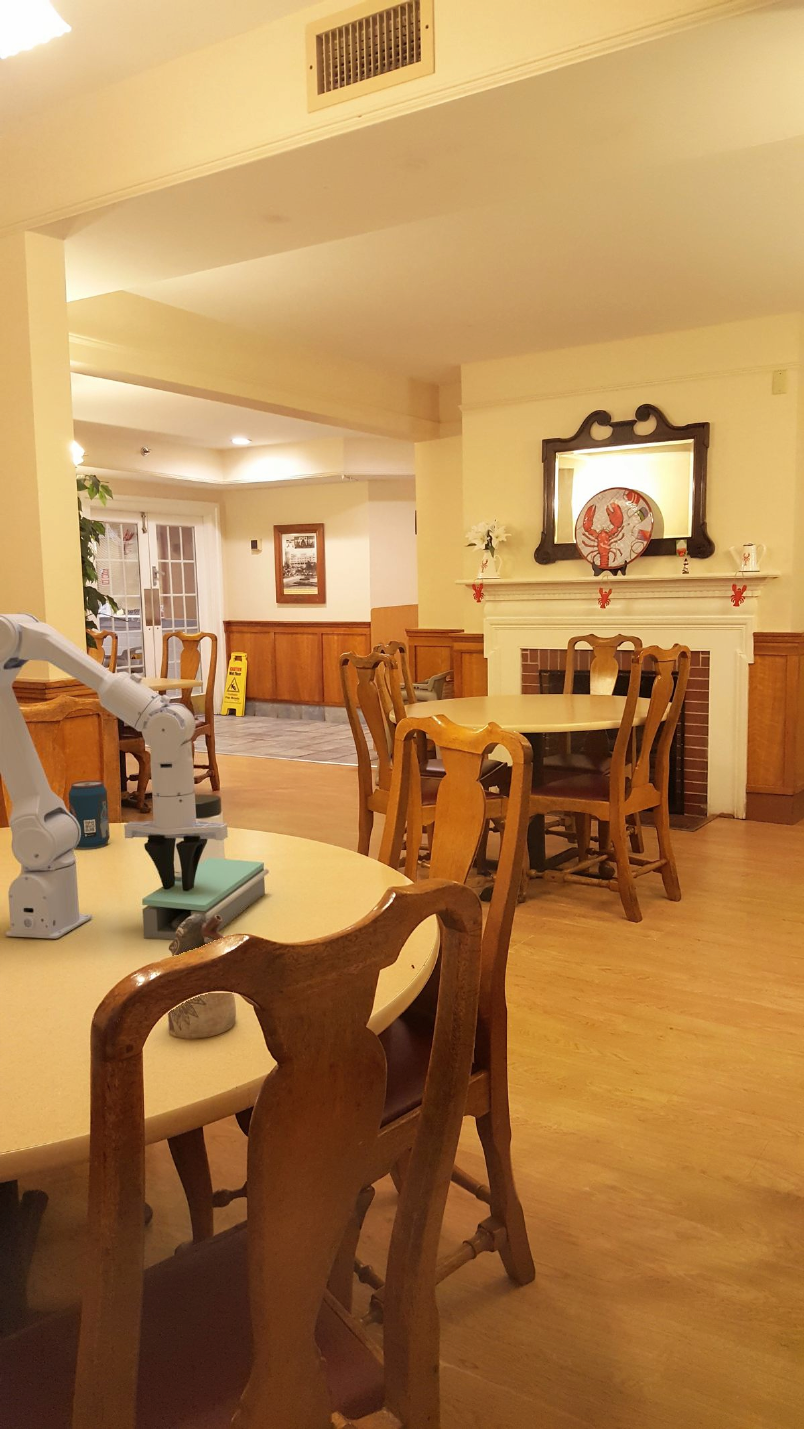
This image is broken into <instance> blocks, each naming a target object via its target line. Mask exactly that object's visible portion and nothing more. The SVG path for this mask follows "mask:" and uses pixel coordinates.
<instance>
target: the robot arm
mask: <svg viewBox="0 0 804 1429" xmlns="http://www.w3.org/2000/svg"><path fill="white" fill-rule="evenodd" d="M29 661H40V662H41V661H43V662H48V663H49V664H51V665H53V666H55V668H57V669H58V670H61V671H62V672H64V673H65V674H67V675H69V676H70V677H72V678H74V679H75V680H77V681H78V682H81V683H82V684H83V685H85V686H87V687H88V688H90V689H92V690H93V691H95V692H96V693H97V696H98V700H99V704H100V706H101V707H102V708H104V709H105V710H107V711H108V712H109V713H111V714H112V715H114V716H115V717H117V718H118V719H120V720H121V721H122V722H124V723H126V724H127V725H129V726H130V727H131V728H133V729H135V731H137V732H141V734H142V738H143V739H144V742H145V744H146V745H148V747H149V750H150V751H149V752H150V778H151V779H150V781H151V792H152V797H151V798H152V811H153V815H152V816H153V821H151V820H149V821H148V820H147V821H130V822H127V823H125V824H124V825H123V826H124V827H123V828H124V829H123V830H124V839H134V838H147V842H145V843H144V844H143V846H144V847H143V848H144V850H145V851H146V853H147V854H148V856H149V857H150V859H151V860H152V862H153V864H154V866H155V868H156V870H157V873H158V875H159V878H160V882H161V885H162V887H163V889H170V888H171V887H173V886H174V885H175V875H176V874H175V873H176V872H175V869H174V851H175V842H176V838H183V839H184V841H181V842H179V843H177V844H176V848H177V851H178V855H179V859H180V864H181V873H182V888H183V891H189V890H191V889H192V888H194V881H195V875H196V871H197V867H198V863H199V860H200V857H201V854H202V852H203V850H204V848H205V845H206V843H207V840H208V839H215V840H224V841H225V839H227V838H228V836H229V835H228V834H229V833H228V824H227V823H223V824H222V823H211V822H203V821H196V807H195V795H196V794H195V791H196V788H195V772H194V758H193V751H192V750H193V749H192V748H193V746H192V740H191V739H192V737H193V735H194V734H195V732H196V727H197V726H196V725H197V724H196V723H197V722H196V719H195V717H194V715H193V712H192V711H190V710H189V709H188V708H187V707H186V706H185V704H183V703H180V702H178V703H177V702H172V703H170V701H171V697H169V696H168V695H167V694H163V695H160V694H159V693H157V692H156V691H155V690H153V689H152V688H150V687H149V686H147V685H146V684H145V683H143V682H142V680H143V677H142V676H141V675H140V674H138V673H137V672H134V673H133V672H132V673H131V674H130V673H128V672H127V671H120V672H115V673H113V672H112V671H110V670H109V669H107V668H106V667H105V666H103V665H102V664H101V663H99V662H98V661H97V660H96V659H94V658H93V657H92V656H90V655H89V654H88V653H87V652H85V651H84V650H82V648H79V646H77V645H75V643H73V642H72V641H71V640H69V638H66V637H65V636H64V635H63V634H61V633H60V632H59V631H58V630H56V629H55V628H54V627H53V626H52V625H50V624H48V623H46V622H44V621H42V622H41V621H40V620H39V619H38V618H37V617H36V616H34V615H33V614H31V613H28V612H17V613H8V614H7V613H0V775H1V778H2V781H3V783H4V786H5V788H6V791H7V793H8V796H9V799H10V801H11V804H12V807H11V811H10V815H9V819H8V825H9V828H10V831H11V837H12V838H11V851H12V855H13V856H14V858H15V860H16V861H17V862H18V863H19V864H20V865H21V869H20V873H19V875H18V876H17V877H16V878H15V879H14V880H13V881H12V882H11V884H10V886H9V889H8V895H7V896H8V907H9V908H8V910H9V923H10V929H9V930H8V931H5V936H6V937H18V938H19V937H20V938H37V939H59V938H60V937H61V936H62V937H63V936H64V935H65V934H67V933H68V932H70V931H71V930H74V929H75V928H78V927H79V926H80V925H82V924H84V923H86V922H87V921H89V920H90V919H92V918H93V914H90V913H80V906H79V892H78V891H79V890H78V888H79V887H78V874H77V860H76V859H77V858H76V855H75V850H74V849H76V846H77V844H78V843H79V840H80V837H81V829H80V825H79V823H78V821H77V820H76V818H75V817H74V816H73V815H71V814H70V812H69V810H68V808H67V807H66V804H65V801H64V800H63V799H62V798H61V797H60V796H59V795H58V794H56V793H55V792H54V791H53V790H52V788H51V786H50V784H49V781H48V778H47V776H46V772H45V770H44V768H43V765H42V763H41V760H40V758H39V754H38V751H37V749H36V747H35V744H34V742H33V739H32V737H31V734H30V731H29V728H28V726H27V723H26V720H25V718H24V716H23V713H22V711H21V707H20V705H19V703H18V700H17V697H16V695H15V691H14V689H13V684H14V682H15V680H16V678H17V677H18V674H19V673H20V672H21V670H22V668H23V666H24V665H25V664H27V662H29Z"/></svg>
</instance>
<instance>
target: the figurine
mask: <svg viewBox="0 0 804 1429" xmlns="http://www.w3.org/2000/svg"><path fill="white" fill-rule="evenodd" d="M221 922H222V919H221V917H220V916H219V915H215V916H214V917H213V918H212V919H211V920H210V921H209V922H208V923H206V920H205V918H204V917H203V916H202V915H201V914H194V915H192V916H190V917H188V918H187V919H186V920H185V921H184V922H183V923H182V924H181V925H180V926H179V927H178V928H177V930H176V933H175V939H174V940H173V941H172V942H170V944H169V946H168V950H169V951H170V953H171V957H172V956H174V955H179V954H181V953H183V952H187V951H189V950H193V949H195V948H199V947H201V946H203V945H205V944H208V943H210V942H213V941H214V940H218V939H220V938H224V939H225V937H224V935H222V934H221V932H220V931H217V928H218V927H219V926H220V924H221ZM167 1016H168V1018H167V1019H168V1020H167V1021H168V1031H169V1033H170V1036H173V1037H175V1038H180V1039H186V1040H195V1039H203V1038H209V1037H214V1036H218V1035H220V1034H223V1033H226V1031H229V1030H230V1029H232V1027H233V1026H234V1024H235V1022H236V1017H237V1006H236V998H235V993H234V994H232V993H208V994H205V995H200V996H198V997H195V998H193V999H190V1000H188V1001H186V1002H185V1003H182V1004H181V1005H179V1006H178V1007H176V1008H175V1009H173V1010H171V1011H170V1012H169V1013H168V1012H167Z"/></svg>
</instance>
